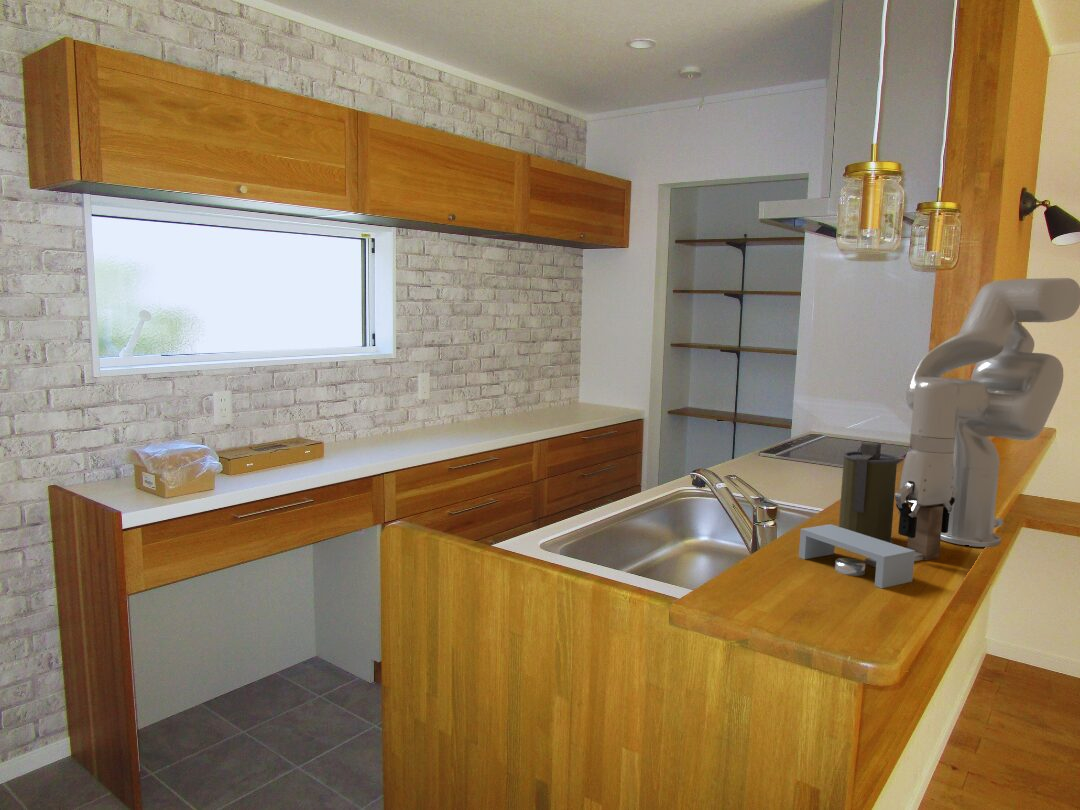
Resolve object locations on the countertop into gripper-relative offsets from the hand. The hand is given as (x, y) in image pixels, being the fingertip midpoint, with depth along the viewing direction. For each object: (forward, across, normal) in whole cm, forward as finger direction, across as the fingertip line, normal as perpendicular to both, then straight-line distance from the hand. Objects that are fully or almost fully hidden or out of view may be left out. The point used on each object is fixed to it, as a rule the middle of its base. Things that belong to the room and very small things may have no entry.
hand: (923, 533), depth 144 cm
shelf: (+5, +18, -1) cm, 19 cm away
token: (+5, +20, 0) cm, 20 cm away
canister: (+5, 0, -13) cm, 13 cm away
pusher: (+5, +6, 0) cm, 7 cm away
